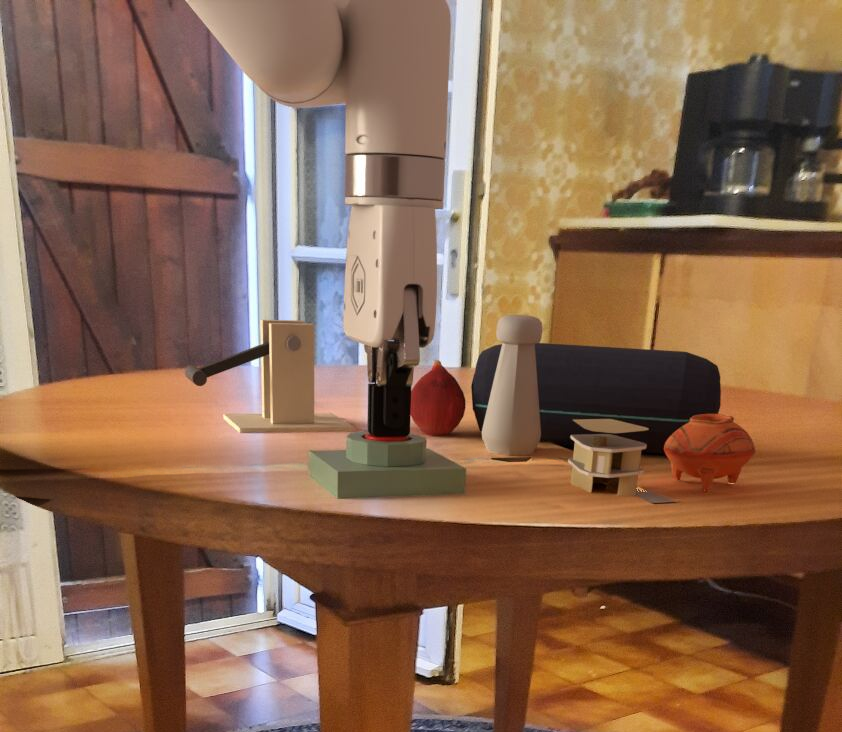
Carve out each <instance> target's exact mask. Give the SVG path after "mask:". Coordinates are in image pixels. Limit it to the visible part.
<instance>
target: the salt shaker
mask: <svg viewBox="0 0 842 732" xmlns="http://www.w3.org/2000/svg"><path fill="white" fill-rule="evenodd" d="M542 336H543V322H542V321H541V320H540V318H538V317H536V316H534V315H533V316H532V315H528V314H527V315H524V314H506V315H504V316H501V318H500V319H499V320H498V321H497V325H496V335H495V337H496V340H497V341H498V342H500V343H501V344H502V347H501V351H500V356H499V360H498V364H497V368H496V373H495V377H494V381H493V386H492V390H491V394H490V398H489V403H488V407H487V411H486V415H485V420H484V424H483V428H482V432H481V439H482V441H483V444H484V447H485V449H486V451H487V452H489V453H490V454H495V455H501V456H508V457H490V459H491V460H493V461H499V462H505V463H527V462H528V461H529V460H531V459H532V456H530V455H533V454H534V452H535V451H536V449H537V447H538V445H539V443H540V442H541V441H540V438H541V426H540V412H539V398H538V384H537V370H536V356H535V344H537V343H541V340H542V338H543V337H542ZM510 456H511V457H510ZM512 456H513V457H512Z"/></svg>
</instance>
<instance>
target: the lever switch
mask: <svg viewBox="0 0 842 732" xmlns="http://www.w3.org/2000/svg"><path fill="white" fill-rule="evenodd" d="M266 355H269V342H266V343H264V344H261V343H260V344H259V345H255V346H253V347H251V348H248V349H245V350H242V351H239V352H237V353H234V354H231V355H229V356H226V357H224V358H220V359H218V360H216V361H213V362H211V363H210V362H209V363H207V364H205V365H202V366H199V367H197V366H196V365H194V364H188V365H187V366H186V367H185V369H184V376H185V377H186V378H187V379H188V380H189V381H190V382H192V383H193V384H194V385H195V386H197V387H203V386H205V385H206V384H207V381H208V378H210V377H213V376H215V375H218V374H221V373H223V372H226V371H229V370H231V369H234V368H236V367H239V366H242V365H244V364H247V363H250V362H252V361H255V360H258V359H261V357H263V356H266Z"/></svg>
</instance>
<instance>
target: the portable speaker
mask: <svg viewBox="0 0 842 732" xmlns="http://www.w3.org/2000/svg"><path fill="white" fill-rule="evenodd" d="M501 347H502V343H500V344H495V345H493V346H490V347H488V348H486V349H484V350H482V351H481V352H480V354H479V355H478V357H477V361H476V364H475V370H474V374H473V377H472V381H471V386H470V389H471V403H472V410H473V413H474V417H475V420H476V423H477V427H478V430H479V432H481V433H482V428H483V424H484V420H485V415H486V411H487V407H488V403H489V398H490V394H491V390H492V386H493V381H494V377H495V373H496V368H497V364H498V360H499V356H500V351H501ZM535 356H536V370H537V384H538V398H539V412H540V426H541V438H540V442H543V443H552V444H554V445H557V446H559V447H567V448H574V444H575V441H573V440H572V439H571V438H570V437H571V435H584V434H611V435H615V436H619V437H623V438H627V439H631V440H635V441H639V442H642V443H645V444H647V446H646V449H643V450H641V453H646V454H658V453H661V455H666V454H665V451H664V445H665V443H666V441H667V439H668V438H669V437H670V436H671V435H672V434H673V433H674V432H675V431H676V430H678V429H679V428H680V427H682V426H683V425H685V424H687V423H689V422H690V418H691V417H692V416H695V415H700V414H720V409H721V405H722V404H721V402H722V401H721V400H722V399H721V398H722V397H721V396H722V389H721V387H722V386H721V385H722V384H721V374H720V370H719V366H718V365H717V364H716V363H714V362H713V361H711V360H709V359H708V358H706V357H703V356H700V355H697V354H694V353H691V352H688V351H678V350H664V349H663V350H661V349H647V348H646V349H645V348H631V347H629V348H628V347H613V346H599V345H598V346H597V345H580V344H579V345H578V344H564V343H548V342H547V343H546V342H540V343H537V344H535ZM579 419H613V420H617V421H621V422H626V423H630V424H634V425H638V426H642V427H646V428H648V429H649V430H646V431H635V432H625V433H606V432H596V431H590V430H587V429H584V428H583V427H581V426H580V425H579V424H577V423H576V422H575V421H573V420H579Z"/></svg>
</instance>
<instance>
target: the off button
mask: <svg viewBox="0 0 842 732" xmlns="http://www.w3.org/2000/svg"><path fill="white" fill-rule="evenodd" d="M365 439H368V440H373V441H384V442H402V441H408V436H402V437H376V436H374V435H372V434H370V433H366V434H365Z"/></svg>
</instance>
